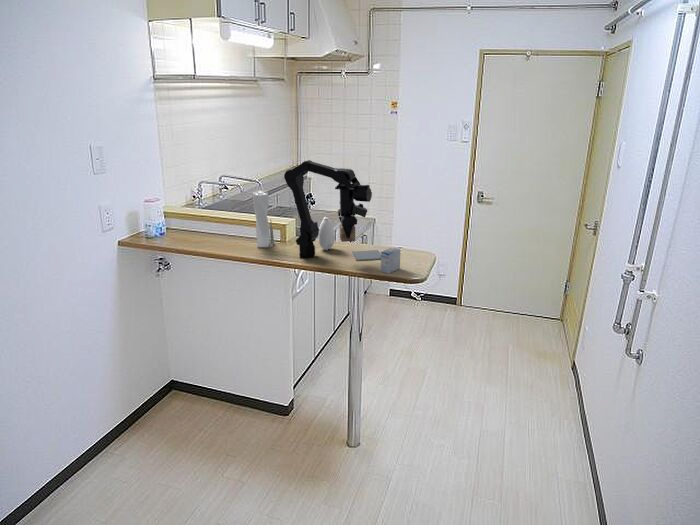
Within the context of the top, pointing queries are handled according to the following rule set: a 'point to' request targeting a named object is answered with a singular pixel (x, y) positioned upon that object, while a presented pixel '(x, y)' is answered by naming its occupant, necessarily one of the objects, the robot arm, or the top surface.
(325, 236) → the white elongated ovoid
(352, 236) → the cube
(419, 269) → the top surface
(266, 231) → the skyscraper
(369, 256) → the mat
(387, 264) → the medicine box
